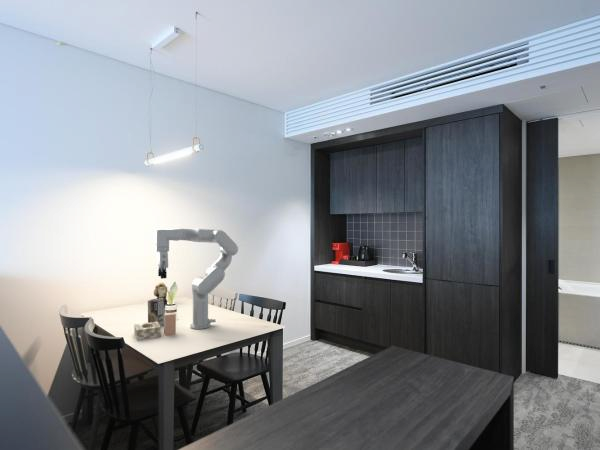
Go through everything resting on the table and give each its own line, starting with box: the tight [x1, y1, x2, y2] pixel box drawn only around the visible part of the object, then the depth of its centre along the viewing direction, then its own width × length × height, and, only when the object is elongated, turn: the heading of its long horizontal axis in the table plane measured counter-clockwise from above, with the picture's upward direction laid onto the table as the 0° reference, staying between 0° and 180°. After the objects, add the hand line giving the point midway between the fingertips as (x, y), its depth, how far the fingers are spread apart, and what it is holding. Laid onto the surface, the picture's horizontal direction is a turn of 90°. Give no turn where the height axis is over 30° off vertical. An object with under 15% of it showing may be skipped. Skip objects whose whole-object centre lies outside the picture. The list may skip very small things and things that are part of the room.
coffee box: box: [147, 298, 166, 327], centre depth 238 cm, size 9×6×16 cm
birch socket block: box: [133, 322, 162, 341], centre depth 217 cm, size 13×13×6 cm
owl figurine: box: [153, 282, 169, 306], centre depth 298 cm, size 18×12×17 cm, turn 45°
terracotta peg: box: [163, 312, 177, 336], centre depth 219 cm, size 6×4×12 cm
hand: (162, 277), depth 221 cm, fingers open, 9 cm apart
